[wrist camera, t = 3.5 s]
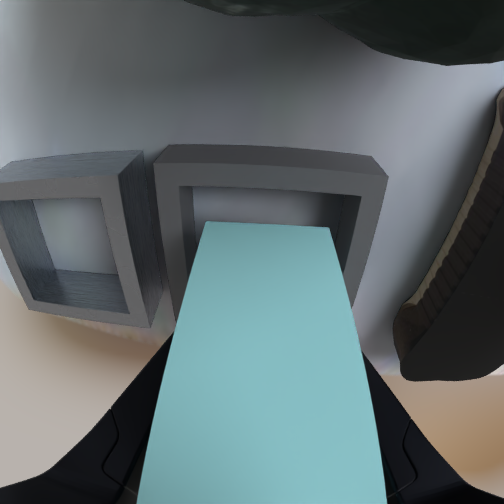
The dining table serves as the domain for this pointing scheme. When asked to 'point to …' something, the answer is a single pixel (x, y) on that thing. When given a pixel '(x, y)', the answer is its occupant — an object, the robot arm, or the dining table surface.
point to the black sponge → (462, 286)
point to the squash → (399, 25)
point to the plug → (264, 379)
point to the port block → (118, 226)
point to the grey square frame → (266, 177)
